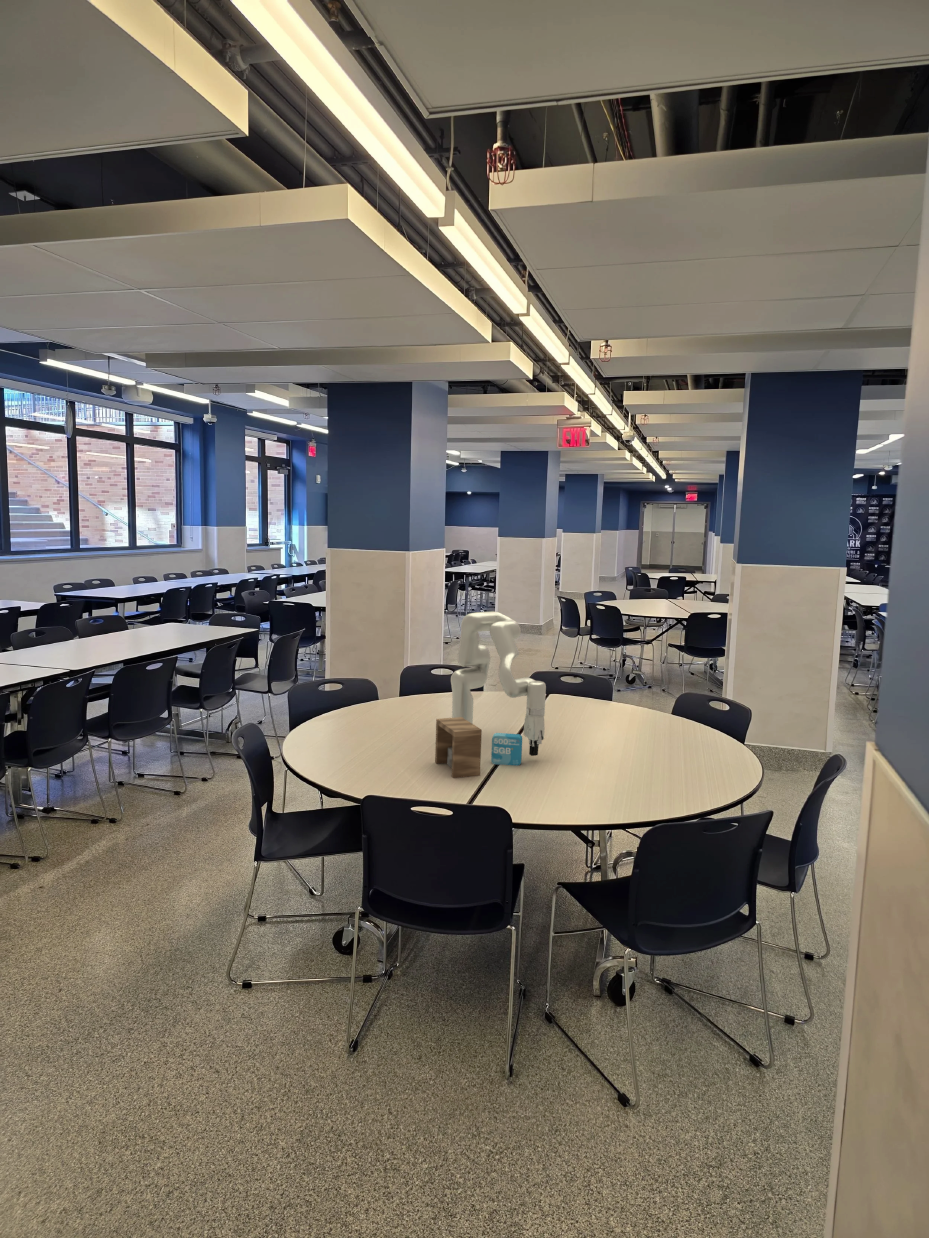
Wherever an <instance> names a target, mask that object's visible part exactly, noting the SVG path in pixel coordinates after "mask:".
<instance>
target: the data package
mask: <svg viewBox="0 0 929 1238" xmlns="http://www.w3.org/2000/svg"><path fill="white" fill-rule="evenodd" d="M522 752H523V736H522V735H521V734H519V733H506V732H505V733H503V732H495V733H494V734H493V735H492V737H491V752H490V754H491V756H490V757H491V759H490V761H491V764H493V765H505V766H520V765H521V764H522V756H523V755H522V754H523V753H522Z"/></svg>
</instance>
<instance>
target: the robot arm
mask: <svg viewBox="0 0 929 1238" xmlns="http://www.w3.org/2000/svg"><path fill="white" fill-rule="evenodd" d="M479 632H489V633H490V637H491V639H492V643H493V645H494V647H495V649H496V652H497V654H498V657H499V661H500V662H499V665H498V679H499V683H500V685H501V687H502V690H503V692H504V693H505V695H506V696H507V697H509V698H512V699H514V698H521V697H526V710H525V711H526V712H525V717H524V724H523V736H525V737H526V738H527V739H528V744H529V751H528V754H529V756H531V757H534V756H538V755H539V746H540V745H542V744H543V740H544V739H545V732H546V731H545V728H546V726H545V716H546V714H545V713H546V711H545V710H546V696H547V695H546V692H547V691H546V690H547V686H546V685H547V684H546V683H545V682H544V681H541V680H535V679H534V678H531V677H520V678H519V677H518V678H514V674H513V673H512V672H513V671H512V663H513V661H514V660H515V659H516V658H517V657H519V655H520V651H519V648H518V646H517V643H516V640H517V639H518V638H520V635H521V633H522V631H521V627H520V624H519V623H518V622H517V621H516V620H514V619H513V618H510V617H509V616H507V615H504V614H503V613H501V612H498V611H478V612H470V613H467V614H466V615H465V616H463V618H462V621H461V624H460V639H459V640H460V641H459V647H458V652H457V662H458V665H460V667H462V668H460V669H457V670H454V672H452V674H451V676H450V685H451V692H452V693H451V694H452V698H451V699H452V700H451V701H452V702H451V703H452V704H451V706H452V707H451V709H452V710H451V718H455V717H462V718H464V719H466V720H467V721H469V722H470V723H472V724H474V697H473V694H472V692H471V690H473V689H478V688H482V687H483V686H485V684H486V683H487V679H488V674H489V669H490V663H491V652H490V649H489V647H487V645H485V644H480V640H481V638H480V634H479ZM463 667H464V668H463Z"/></svg>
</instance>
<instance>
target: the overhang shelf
mask: <svg viewBox="0 0 929 1238" xmlns="http://www.w3.org/2000/svg"><path fill="white" fill-rule="evenodd" d="M482 733H483V731H482V729H481V727H478V726H476V725H475V724H474V723H473V724H472V723H470V722H469V721H467V720H466V719H464V718H462V717H455V718H452V717H442V718H436V721H435V749H434V750H435V751H434V753H435V754H434V756H435V757H434V763H435V764H437V765H439V764H441V765H442V764H447V766H448V767H450V769H451V778H453V779H459V778H467V777H468V778H469V777H475V776H476V777H477V776H481V761H482V760H481V757H482Z"/></svg>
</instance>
